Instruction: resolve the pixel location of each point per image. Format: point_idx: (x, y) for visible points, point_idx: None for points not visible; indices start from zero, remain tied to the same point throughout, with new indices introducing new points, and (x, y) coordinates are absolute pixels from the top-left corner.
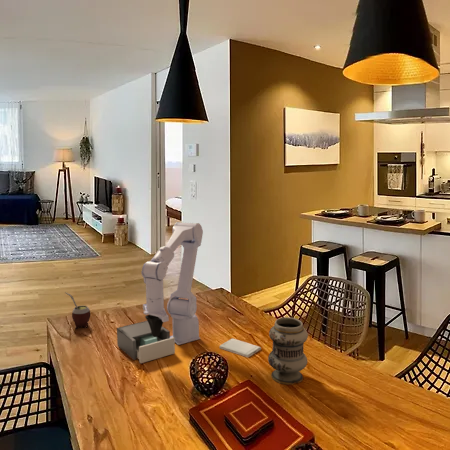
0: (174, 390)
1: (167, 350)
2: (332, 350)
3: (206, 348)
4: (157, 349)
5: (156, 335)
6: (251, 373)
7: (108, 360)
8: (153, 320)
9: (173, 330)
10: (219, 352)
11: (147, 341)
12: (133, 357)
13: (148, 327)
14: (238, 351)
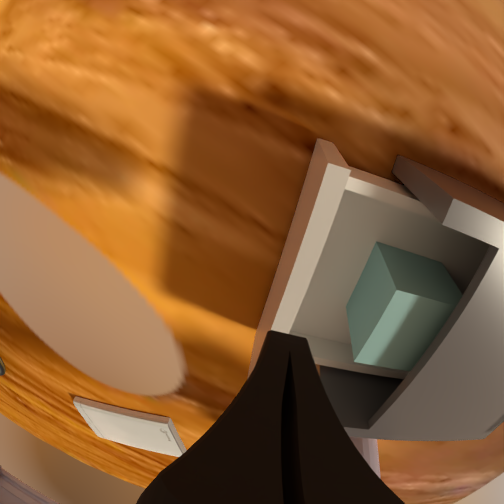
0: (4, 104)
1: (263, 319)
2: (46, 441)
3: (198, 406)
4: (280, 280)
5: (260, 352)
6: (4, 332)
7: (501, 75)
8: (138, 499)
9: (358, 439)
10: (143, 399)
11: (387, 300)
12: (403, 158)
13: (464, 399)
14: (102, 411)
